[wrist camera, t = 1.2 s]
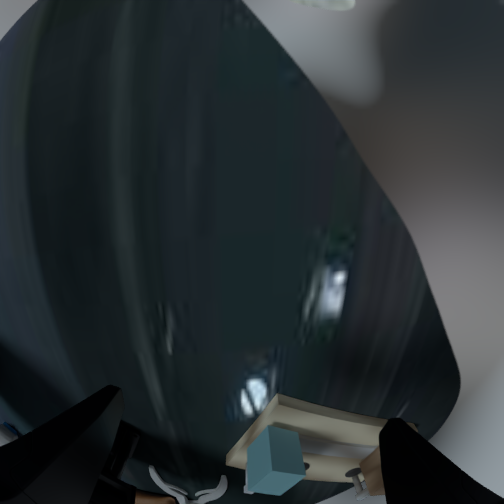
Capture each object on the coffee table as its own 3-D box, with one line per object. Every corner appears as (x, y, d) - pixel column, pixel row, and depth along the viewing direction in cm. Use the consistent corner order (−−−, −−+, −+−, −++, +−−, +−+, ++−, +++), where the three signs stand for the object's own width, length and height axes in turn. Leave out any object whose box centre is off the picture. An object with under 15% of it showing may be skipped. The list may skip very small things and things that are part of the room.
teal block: (260, 468, 22) (263, 506, 18) (233, 462, 22) (232, 502, 17) (297, 432, 21) (306, 475, 16) (267, 424, 21) (272, 470, 16)
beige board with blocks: (357, 474, 27) (370, 512, 20) (226, 454, 25) (223, 506, 18) (413, 423, 25) (436, 462, 18) (276, 393, 23) (286, 454, 16)
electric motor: (-3, 409, 25) (-18, 426, 20) (18, 427, 25) (4, 446, 21) (0, 426, 26) (-12, 442, 21) (20, 443, 27) (8, 460, 22)
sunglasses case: (173, 497, 27) (170, 533, 22) (180, 494, 32) (177, 526, 27) (64, 463, 26) (60, 497, 22) (82, 467, 31) (78, 497, 26)
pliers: (227, 483, 25) (226, 520, 28) (227, 473, 26) (227, 512, 30) (146, 472, 24) (164, 512, 28) (148, 462, 26) (165, 505, 30)
